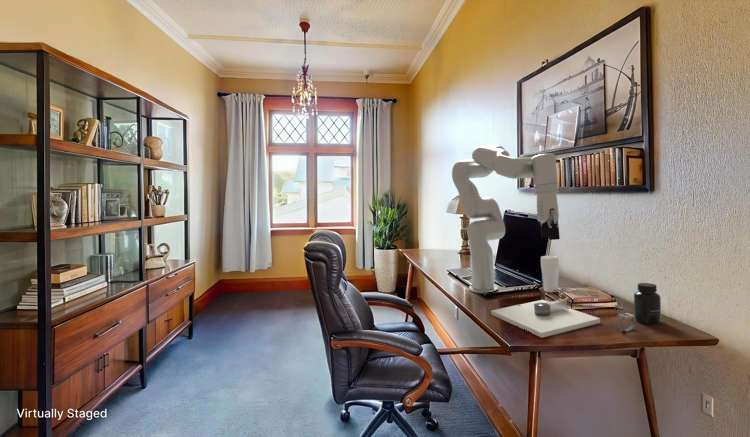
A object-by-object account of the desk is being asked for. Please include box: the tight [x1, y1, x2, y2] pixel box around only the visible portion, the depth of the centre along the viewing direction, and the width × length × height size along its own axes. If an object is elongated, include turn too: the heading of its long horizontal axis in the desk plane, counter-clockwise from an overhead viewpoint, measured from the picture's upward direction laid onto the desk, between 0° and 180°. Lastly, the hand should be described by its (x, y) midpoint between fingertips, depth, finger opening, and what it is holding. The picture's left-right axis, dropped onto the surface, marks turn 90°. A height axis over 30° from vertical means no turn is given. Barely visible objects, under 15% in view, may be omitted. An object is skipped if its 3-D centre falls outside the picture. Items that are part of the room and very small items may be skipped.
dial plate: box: [490, 299, 601, 339], centre depth 124 cm, size 24×24×2 cm
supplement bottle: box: [633, 282, 662, 326], centre depth 114 cm, size 7×7×12 cm
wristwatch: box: [616, 312, 637, 333], centre depth 109 cm, size 6×3×5 cm, turn 105°
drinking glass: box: [540, 255, 560, 292], centre depth 152 cm, size 7×7×15 cm
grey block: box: [534, 298, 568, 316], centre depth 125 cm, size 12×5×3 cm, turn 109°
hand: (550, 238), depth 126 cm, fingers open, 9 cm apart
